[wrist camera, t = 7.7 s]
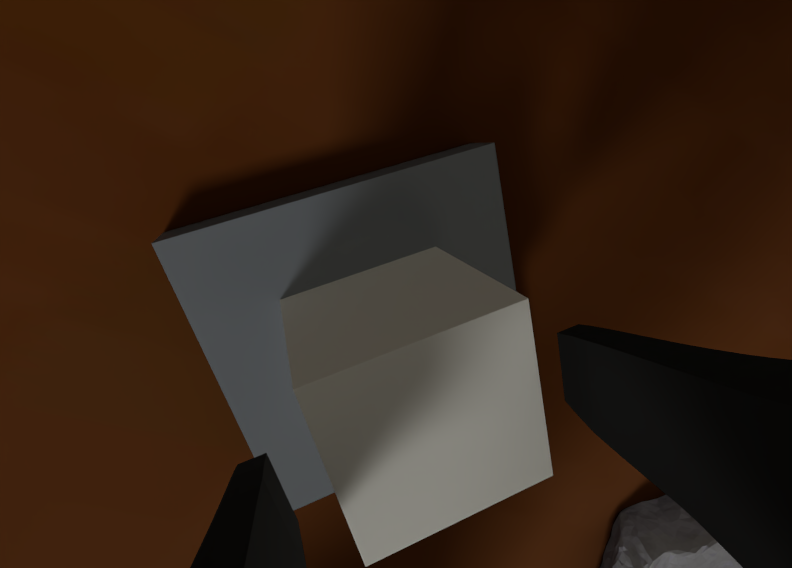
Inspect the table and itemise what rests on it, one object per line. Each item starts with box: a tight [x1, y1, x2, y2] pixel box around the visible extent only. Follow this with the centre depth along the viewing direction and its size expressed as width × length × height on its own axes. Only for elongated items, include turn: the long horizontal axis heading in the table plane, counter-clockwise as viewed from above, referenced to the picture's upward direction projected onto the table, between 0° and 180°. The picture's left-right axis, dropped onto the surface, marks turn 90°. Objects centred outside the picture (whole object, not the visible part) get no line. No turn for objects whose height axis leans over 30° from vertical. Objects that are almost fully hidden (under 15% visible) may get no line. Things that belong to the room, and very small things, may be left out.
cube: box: [280, 247, 553, 567], centre depth 11 cm, size 5×5×5 cm
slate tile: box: [152, 143, 516, 510], centre depth 14 cm, size 10×10×2 cm
